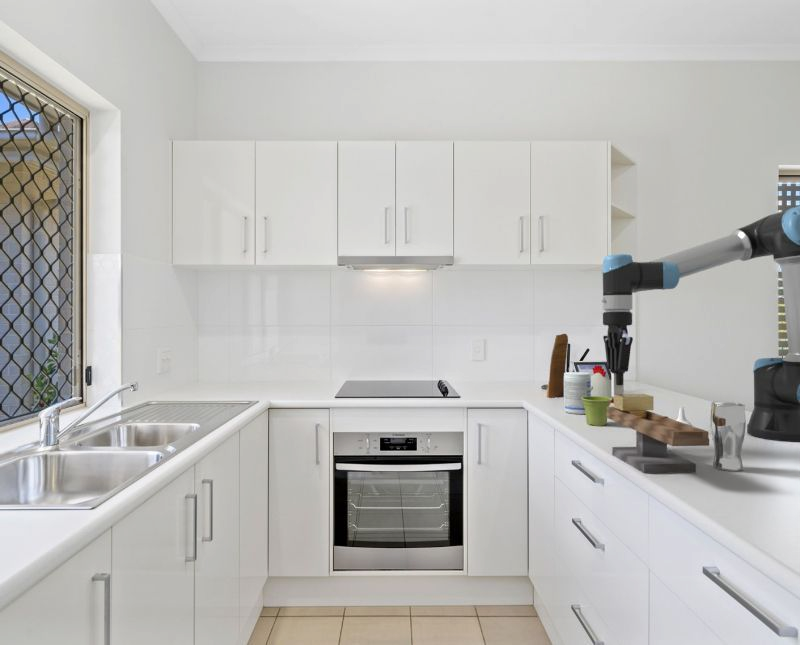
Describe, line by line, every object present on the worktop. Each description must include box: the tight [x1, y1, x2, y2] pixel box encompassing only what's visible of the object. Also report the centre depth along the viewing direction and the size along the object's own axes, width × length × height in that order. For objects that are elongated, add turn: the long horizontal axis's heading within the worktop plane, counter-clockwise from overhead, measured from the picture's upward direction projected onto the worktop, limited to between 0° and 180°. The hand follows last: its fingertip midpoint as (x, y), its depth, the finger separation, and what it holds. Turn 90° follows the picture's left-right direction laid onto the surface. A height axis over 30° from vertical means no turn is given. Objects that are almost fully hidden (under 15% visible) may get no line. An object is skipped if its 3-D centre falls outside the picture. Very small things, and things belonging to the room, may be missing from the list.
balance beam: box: [606, 406, 710, 474], centre depth 127 cm, size 32×12×11 cm, turn 2°
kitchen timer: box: [590, 364, 614, 404], centre depth 223 cm, size 14×14×15 cm
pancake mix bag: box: [546, 333, 569, 399], centre depth 236 cm, size 7×19×28 cm, turn 141°
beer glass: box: [709, 401, 747, 473], centre depth 122 cm, size 7×7×15 cm
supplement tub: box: [563, 371, 591, 415], centre depth 195 cm, size 10×10×15 cm
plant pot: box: [582, 396, 612, 427], centre depth 173 cm, size 9×9×9 cm
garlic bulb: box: [675, 406, 693, 426], centre depth 161 cm, size 6×6×8 cm
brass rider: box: [613, 393, 654, 418], centre depth 136 cm, size 5×8×5 cm, turn 92°
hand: (617, 396), depth 144 cm, fingers closed
